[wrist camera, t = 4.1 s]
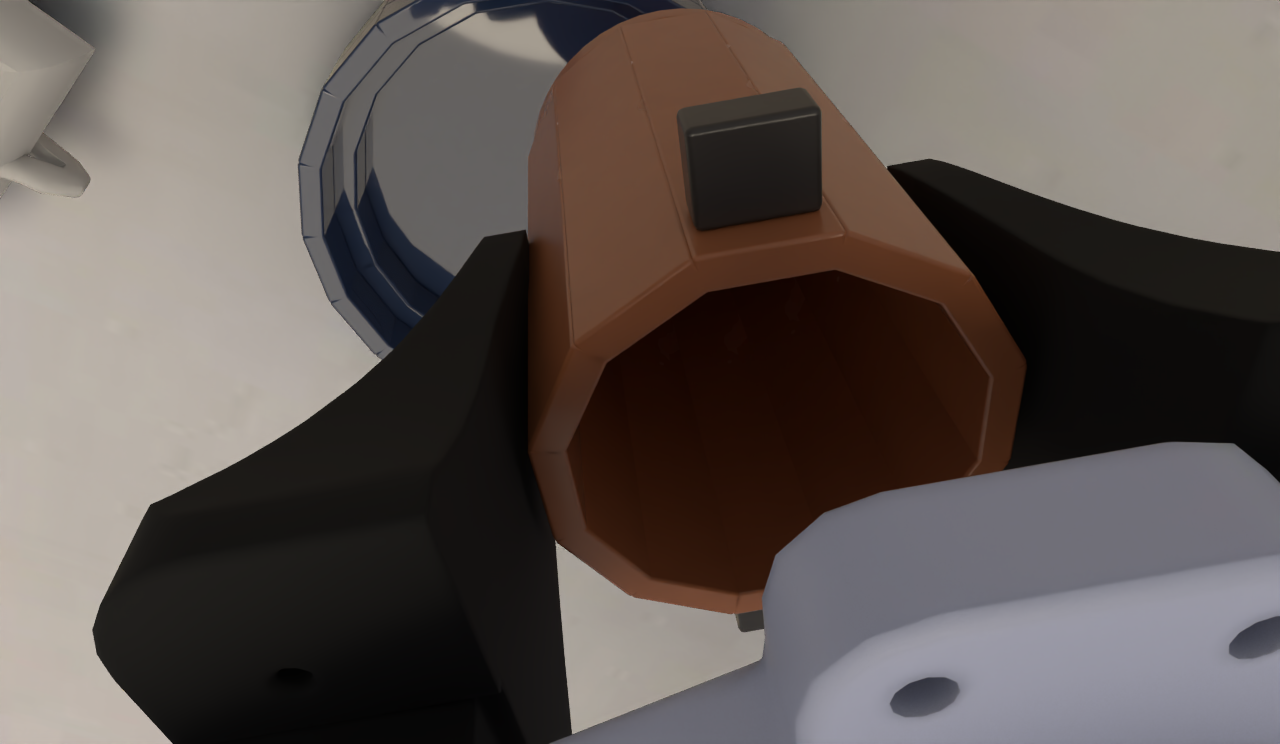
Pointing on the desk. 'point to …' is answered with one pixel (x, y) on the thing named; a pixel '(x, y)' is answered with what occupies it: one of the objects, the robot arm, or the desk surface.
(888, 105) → the desk surface
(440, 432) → the robot arm
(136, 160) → the desk surface
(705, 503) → the copper pot
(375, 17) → the pan
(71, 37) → the stamp
